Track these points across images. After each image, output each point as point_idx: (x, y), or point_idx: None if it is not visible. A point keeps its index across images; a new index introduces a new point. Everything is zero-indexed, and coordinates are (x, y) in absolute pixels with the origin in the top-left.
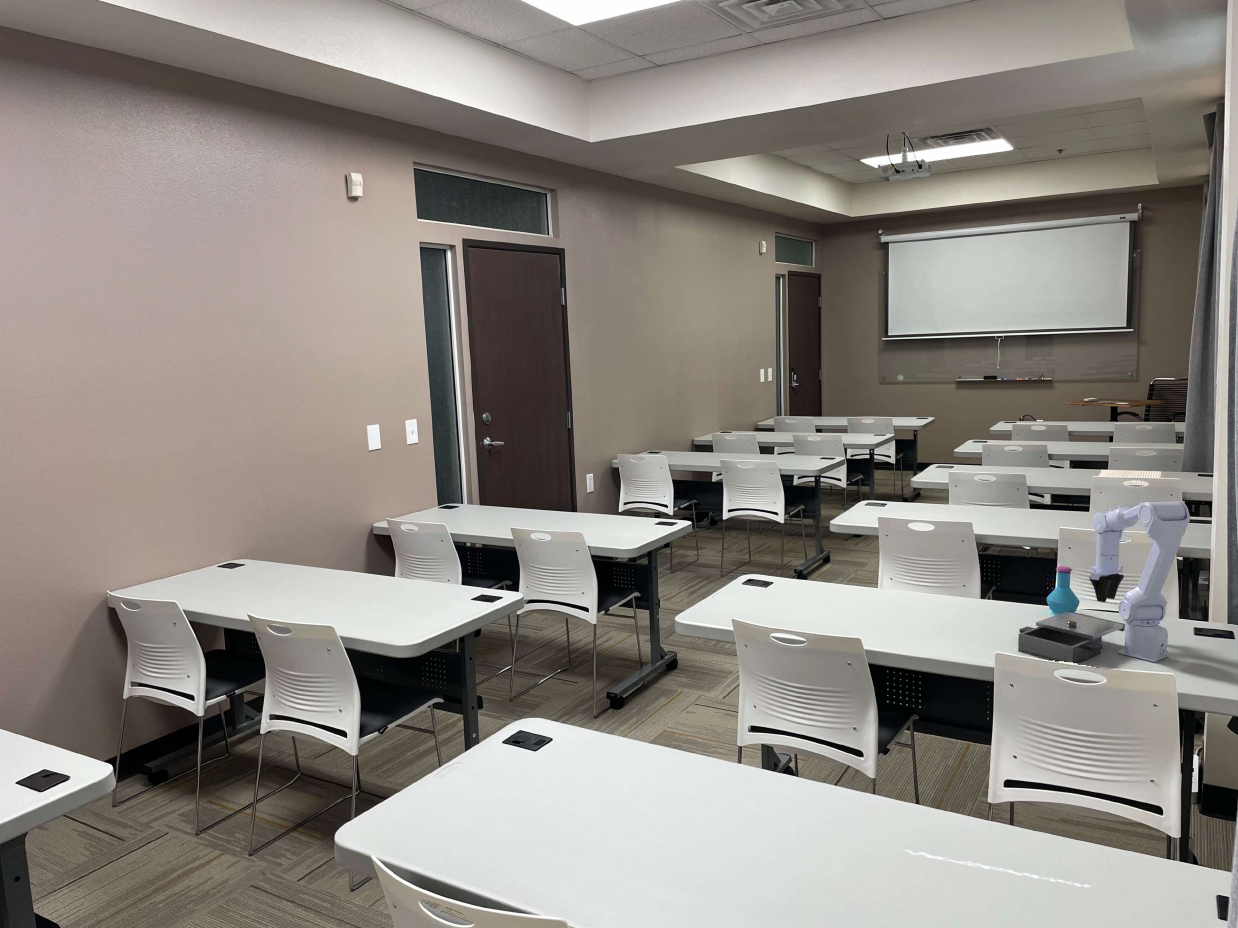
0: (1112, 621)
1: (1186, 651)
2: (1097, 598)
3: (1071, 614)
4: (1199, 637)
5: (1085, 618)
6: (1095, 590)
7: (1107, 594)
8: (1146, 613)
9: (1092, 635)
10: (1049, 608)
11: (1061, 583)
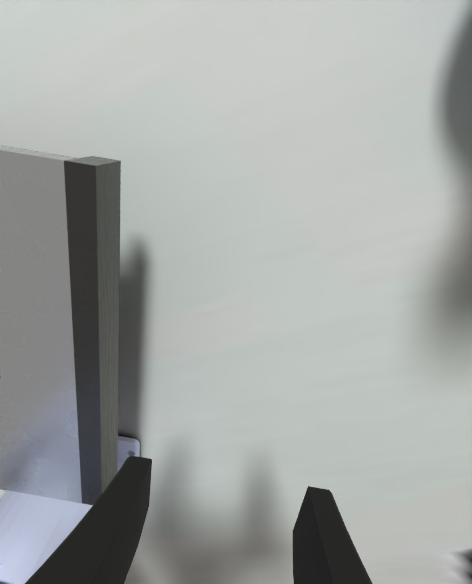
0: (93, 459)
1: (233, 550)
2: (116, 479)
3: (25, 228)
4: (439, 562)
5: (18, 336)
6: (41, 570)
7: (308, 533)
8: None
9: None
10: None
11: None
